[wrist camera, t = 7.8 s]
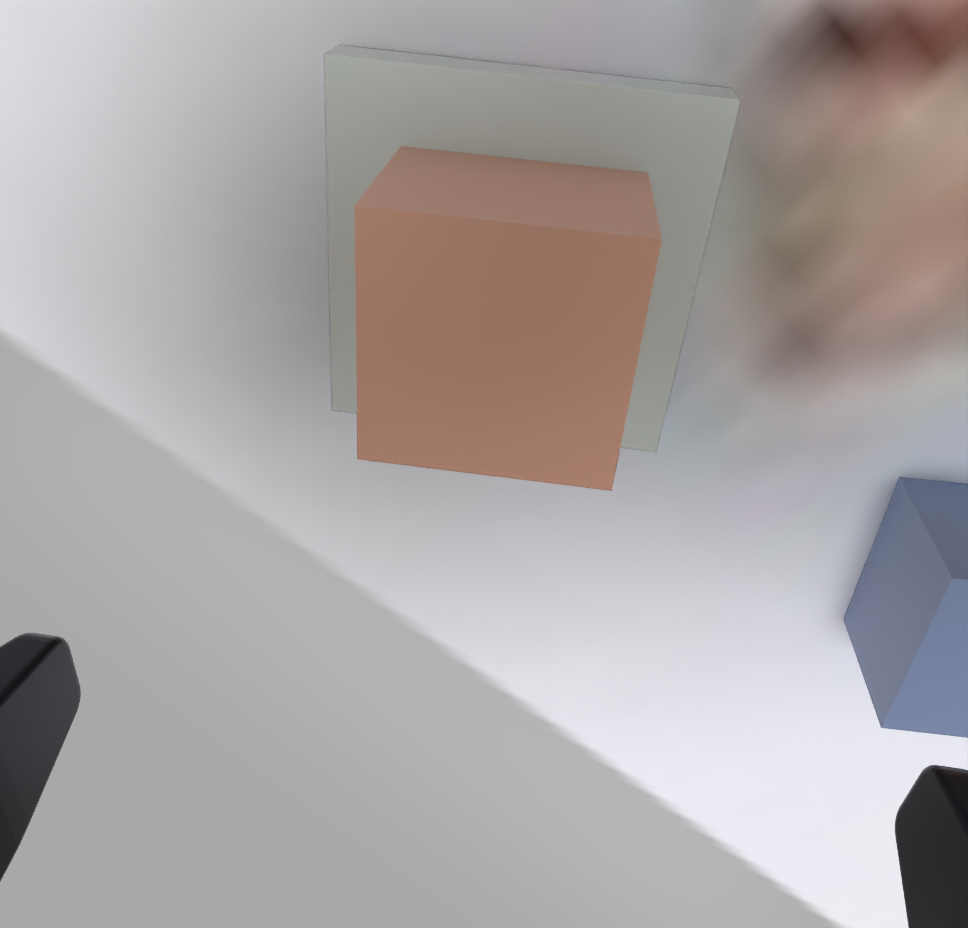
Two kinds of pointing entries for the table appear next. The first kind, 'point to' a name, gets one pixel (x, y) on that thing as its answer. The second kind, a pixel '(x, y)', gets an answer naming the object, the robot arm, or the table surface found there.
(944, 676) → the navy brick
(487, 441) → the terracotta brick
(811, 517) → the table surface
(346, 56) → the grey baseplate
